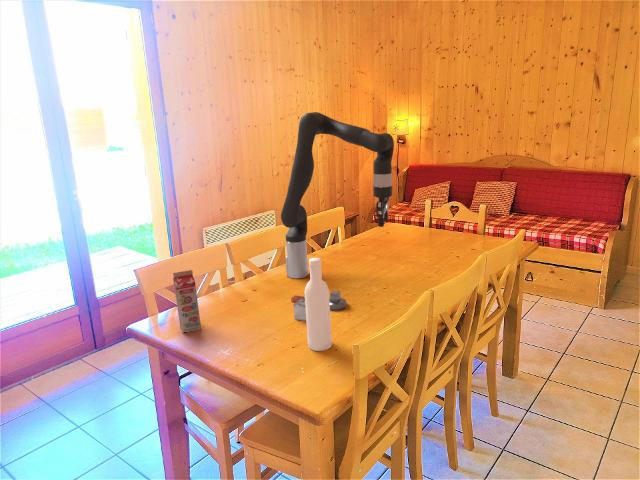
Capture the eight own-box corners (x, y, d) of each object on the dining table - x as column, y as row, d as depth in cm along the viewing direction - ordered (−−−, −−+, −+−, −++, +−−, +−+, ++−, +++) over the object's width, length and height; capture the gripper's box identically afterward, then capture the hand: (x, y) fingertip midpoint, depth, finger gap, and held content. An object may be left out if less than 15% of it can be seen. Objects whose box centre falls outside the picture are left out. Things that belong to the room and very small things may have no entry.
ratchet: (288, 304, 196) (287, 290, 194) (298, 296, 203) (297, 283, 201) (341, 312, 186) (340, 297, 184) (349, 303, 193) (349, 289, 191)
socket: (294, 319, 182) (293, 304, 180) (301, 313, 187) (300, 298, 185) (308, 321, 179) (307, 306, 178) (314, 315, 184) (313, 300, 183)
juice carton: (180, 326, 181) (171, 270, 175) (198, 322, 184) (190, 267, 178) (182, 333, 175) (174, 275, 169) (201, 329, 178) (193, 272, 172)
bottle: (331, 339, 165) (327, 254, 157) (332, 350, 157) (328, 262, 149) (307, 340, 165) (302, 256, 157) (308, 352, 157) (302, 264, 149)
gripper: (377, 181, 202) (377, 219, 207) (369, 187, 189) (370, 228, 194) (395, 181, 200) (395, 220, 204) (388, 187, 187) (389, 228, 191)
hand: (383, 224), depth 199 cm, fingers open, 8 cm apart
